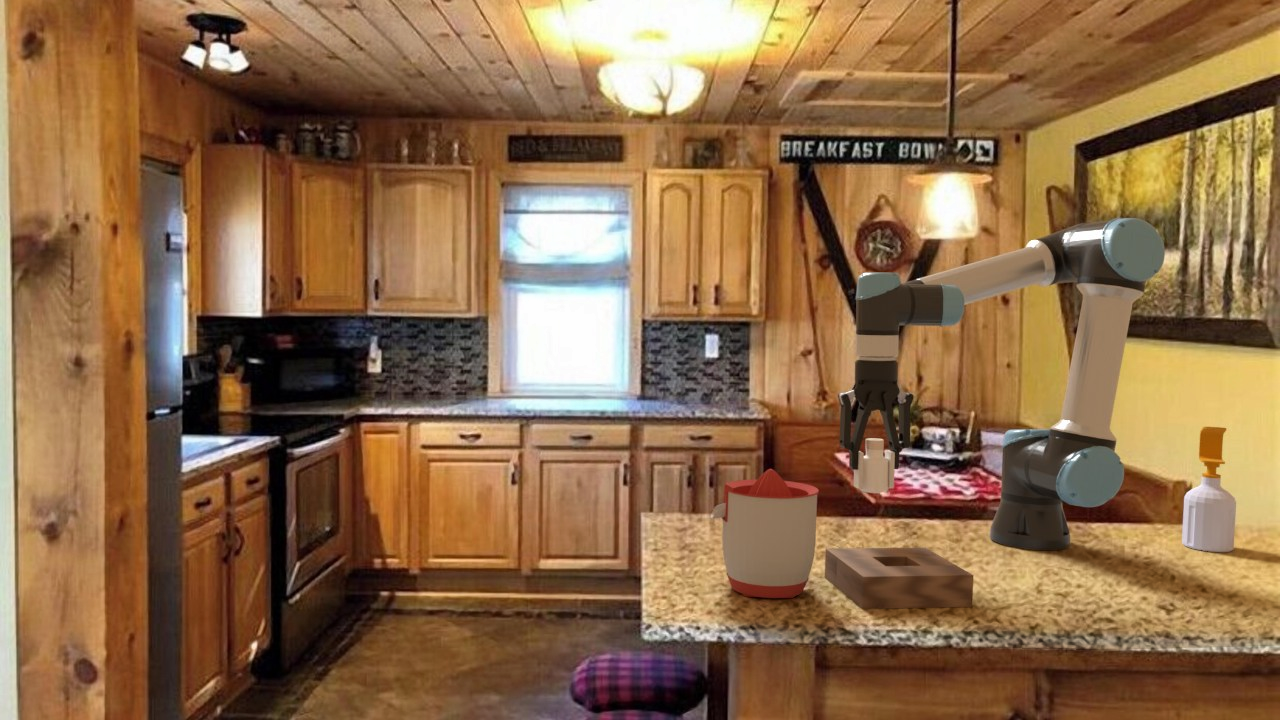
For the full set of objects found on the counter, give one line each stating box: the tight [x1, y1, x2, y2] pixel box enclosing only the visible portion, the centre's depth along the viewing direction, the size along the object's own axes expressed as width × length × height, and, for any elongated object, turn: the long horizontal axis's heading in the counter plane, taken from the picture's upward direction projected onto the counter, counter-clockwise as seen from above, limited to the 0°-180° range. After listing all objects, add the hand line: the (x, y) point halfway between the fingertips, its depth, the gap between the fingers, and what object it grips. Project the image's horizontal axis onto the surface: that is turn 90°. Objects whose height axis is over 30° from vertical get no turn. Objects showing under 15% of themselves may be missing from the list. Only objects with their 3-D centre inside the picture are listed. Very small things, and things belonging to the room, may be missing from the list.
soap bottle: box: [1181, 426, 1237, 553], centre depth 202 cm, size 9×9×25 cm
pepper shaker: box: [859, 437, 889, 494], centre depth 181 cm, size 4×4×10 cm
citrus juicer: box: [710, 468, 820, 599], centre depth 163 cm, size 16×17×20 cm
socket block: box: [824, 547, 974, 610], centre depth 165 cm, size 18×18×5 cm
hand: (873, 486), depth 181 cm, fingers closed on pepper shaker, 5 cm apart
